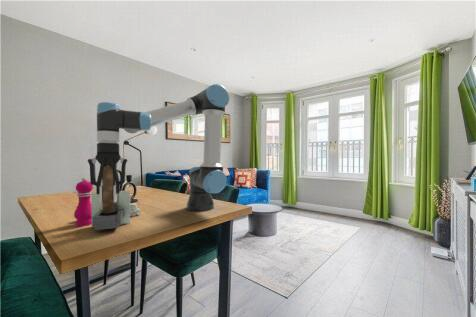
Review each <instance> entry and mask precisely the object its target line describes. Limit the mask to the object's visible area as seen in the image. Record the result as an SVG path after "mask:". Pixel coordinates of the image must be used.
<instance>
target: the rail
mask: <svg viewBox="0 0 476 317" xmlns="http://www.w3.org/2000/svg"><path fill="white" fill-rule="evenodd" d="M114 185H115V179H114V175H113V169H112V168H111V166H106V167H104V169H103V174H102V183H101V186H102V213H112V212H114Z"/></svg>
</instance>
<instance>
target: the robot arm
mask: <svg viewBox="0 0 476 317" xmlns="http://www.w3.org/2000/svg"><path fill="white" fill-rule="evenodd" d="M229 102H230V95H229V92H228V90H227V89H226V87H224V86H223V85H222V84H217V83H216V84H215V83H214V84H212V85H209V86H208V87H207V88H205V89H203V90H202V91H200V92H199V93H198V94H196V95H193V96H192V97H191V96H190V97H187V98H186V100H183V101H181V102H177V103H176V102H175V103H173V104H170V105H166V106H162V107H160V108H156V109H151V110H148V111H133V110H124V109H120V106H119V104H117V103H115V102H108V101H102V102H98V104H97V105H96V106H97V108H96V142H97V143H96V155H95V157H93V158H88V159H87V163H88V165H89V176H90V177H89V179H90V181H89V182H91V185H93V186H96V187H95V188H96V190H95V192H96V193H97V194H100V203H102V174H103V169H104V167H106V166H111V168H112V169H113V175H114V202H116V201H117V193H119V192H120V191H121V185H123V184H125V182H126V166H127V162H128V159H127V158H123V157H121V155H120V144H119V142H120V129H121V130H124V131H125V132H127V133H129V134H136V133H138V132H141V131H150V130H151V128H152V127H156V126H159V125H162V124H165V123H168V122H171V121H175V120H177V119H180V118H181V119H182V118H185V117H188V116H198V115H201V114H203V115H204V133H203V134H204V136H203V139H204V140H203V162H202V163H201V164H200V166H194V167H191V168H190V169H189V174H188V175H189V196H188V198H187V199H188V200H187V202H186V209H187V210H188V211H194V212H203V211H204V212H205V211H209V210H212V209H214V208H215V202H214V200H213V196H212V194H219V193H221V191H223V190H224V189H225V188H226V185H227V182H228V181H227V180H228V179H227V175H226V174H225V173H224V166H223V165H222V163H221V158H222V157H221V156H222V155H221V154H222V153H221V150H222V123H223V122H222V121H223V118H222V117H223V116H224V115H225V114H226V106H228V104H229ZM119 161H120V164H121V168H120V170H121V171H120V178H119V172H118V168H117V164H118V163H119ZM96 162H98V163H99V165H100V166H99V172H98V175H97V176H96V165H95V164H96ZM96 177H97V179H96Z"/></svg>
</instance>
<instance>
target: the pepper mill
mask: <svg viewBox="0 0 476 317" xmlns="http://www.w3.org/2000/svg"><path fill="white" fill-rule="evenodd" d="M93 189H94V185H91V182H90V181H88V178H87V177H85V176H84V177H82V179H81V181H79V182H78V183H76V185H75V191H76V192H77V193H76V194H77V195H76V196H77V197H78V204H77V206H76V208H75V210H74V213H73V217H74V219H75V226H76V227H86V226H90V225H91V226H92V201H91V193H93V192H92V191H93Z"/></svg>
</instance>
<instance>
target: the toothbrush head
mask: <svg viewBox="0 0 476 317" xmlns="http://www.w3.org/2000/svg"><path fill="white" fill-rule="evenodd" d="M140 210H141V208H139V207H138V205H137V203H136V202H133V203H130V217H132V218H133V217H136V216H140Z"/></svg>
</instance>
